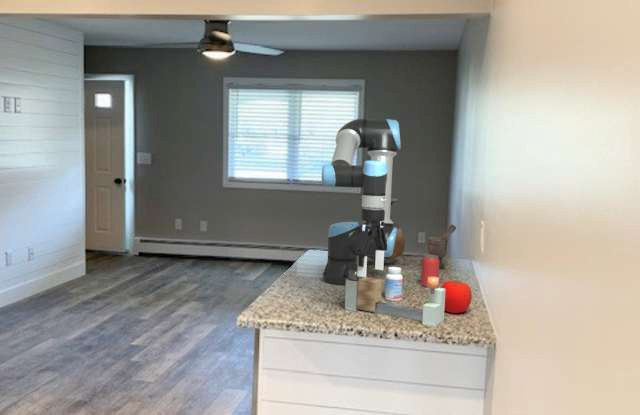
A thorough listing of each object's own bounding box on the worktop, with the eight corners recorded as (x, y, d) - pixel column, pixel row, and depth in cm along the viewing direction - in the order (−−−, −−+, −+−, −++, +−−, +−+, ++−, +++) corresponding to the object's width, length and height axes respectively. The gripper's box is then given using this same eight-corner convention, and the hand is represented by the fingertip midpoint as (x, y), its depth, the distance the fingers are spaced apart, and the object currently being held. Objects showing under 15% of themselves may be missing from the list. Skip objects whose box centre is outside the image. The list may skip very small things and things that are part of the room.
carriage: (357, 308, 197) (358, 279, 196) (364, 304, 202) (365, 276, 201) (374, 311, 195) (375, 282, 193) (381, 307, 199) (382, 279, 198)
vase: (368, 257, 288) (370, 195, 285) (408, 261, 281) (411, 197, 278) (354, 266, 266) (357, 199, 263) (397, 271, 260) (400, 202, 257)
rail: (344, 309, 198) (346, 270, 197) (355, 304, 205) (356, 266, 204) (422, 323, 185) (424, 282, 184) (431, 317, 192) (433, 277, 191)
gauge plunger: (425, 293, 184) (426, 277, 183) (429, 291, 187) (429, 275, 186) (436, 295, 182) (436, 279, 182) (439, 293, 185) (440, 277, 185)
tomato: (441, 306, 207) (442, 275, 205) (472, 310, 203) (474, 278, 201) (434, 313, 197) (436, 281, 196) (467, 318, 193) (469, 285, 192)
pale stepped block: (422, 324, 185) (424, 292, 184) (431, 317, 192) (433, 286, 191) (434, 326, 183) (436, 294, 182) (443, 319, 190) (445, 288, 189)
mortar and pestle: (451, 265, 275) (453, 222, 273) (454, 270, 266) (457, 225, 264) (425, 264, 276) (428, 221, 273) (428, 268, 267) (430, 224, 265)
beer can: (438, 288, 231) (439, 257, 230) (420, 287, 232) (422, 256, 231) (438, 284, 238) (439, 254, 236) (421, 283, 239) (422, 253, 237)
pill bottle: (397, 302, 209) (398, 270, 208) (381, 299, 213) (383, 268, 211) (404, 298, 214) (406, 267, 213) (389, 296, 218) (390, 265, 216)
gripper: (367, 212, 182) (364, 281, 184) (398, 206, 204) (396, 268, 206) (345, 210, 186) (343, 277, 188) (378, 205, 207) (375, 265, 209)
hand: (370, 273), depth 197 cm, fingers open, 13 cm apart
